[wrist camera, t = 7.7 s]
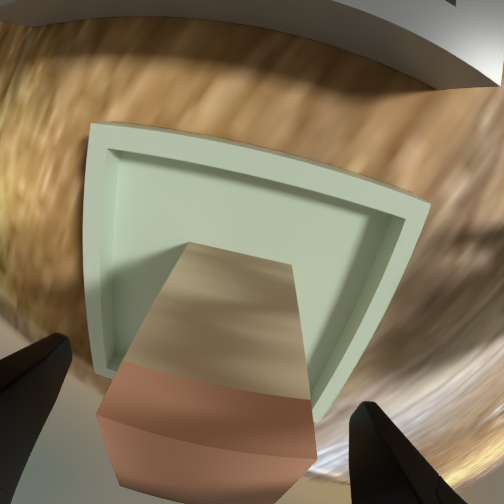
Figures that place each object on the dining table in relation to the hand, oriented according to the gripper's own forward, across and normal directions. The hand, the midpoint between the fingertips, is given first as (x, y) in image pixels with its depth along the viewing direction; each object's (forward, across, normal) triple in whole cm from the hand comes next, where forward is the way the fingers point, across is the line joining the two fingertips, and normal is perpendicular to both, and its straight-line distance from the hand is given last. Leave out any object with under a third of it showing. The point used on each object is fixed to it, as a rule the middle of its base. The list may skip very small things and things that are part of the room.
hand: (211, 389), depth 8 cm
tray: (+6, 0, 0) cm, 6 cm away
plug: (+5, 0, 0) cm, 5 cm away
